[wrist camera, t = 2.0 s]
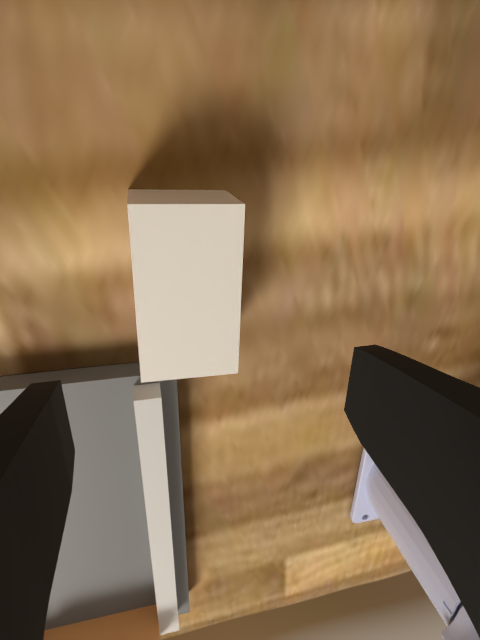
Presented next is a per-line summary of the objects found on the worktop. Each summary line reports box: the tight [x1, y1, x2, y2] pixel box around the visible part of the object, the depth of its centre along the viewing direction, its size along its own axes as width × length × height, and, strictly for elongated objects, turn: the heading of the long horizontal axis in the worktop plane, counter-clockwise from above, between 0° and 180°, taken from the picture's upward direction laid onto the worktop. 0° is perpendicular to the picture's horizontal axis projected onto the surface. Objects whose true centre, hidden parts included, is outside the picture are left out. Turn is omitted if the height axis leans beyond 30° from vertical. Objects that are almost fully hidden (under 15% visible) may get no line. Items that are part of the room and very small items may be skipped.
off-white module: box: [127, 189, 245, 383], centre depth 17 cm, size 4×7×4 cm, turn 178°
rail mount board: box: [0, 362, 190, 640], centre depth 21 cm, size 11×19×4 cm, turn 179°
